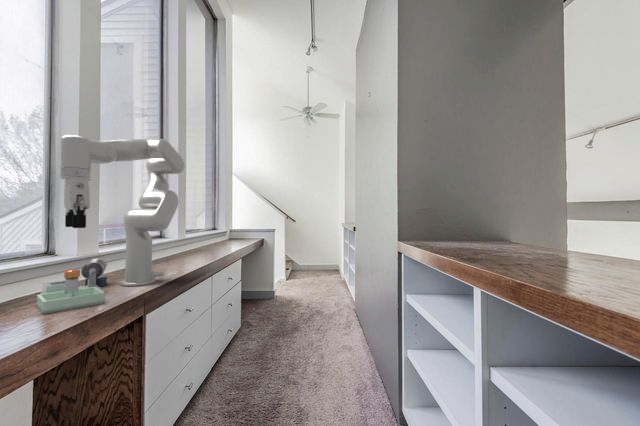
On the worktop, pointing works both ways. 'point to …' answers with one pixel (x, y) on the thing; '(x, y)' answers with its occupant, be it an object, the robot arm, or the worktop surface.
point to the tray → (69, 300)
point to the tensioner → (88, 271)
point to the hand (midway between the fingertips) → (75, 227)
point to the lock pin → (71, 283)
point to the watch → (101, 280)
